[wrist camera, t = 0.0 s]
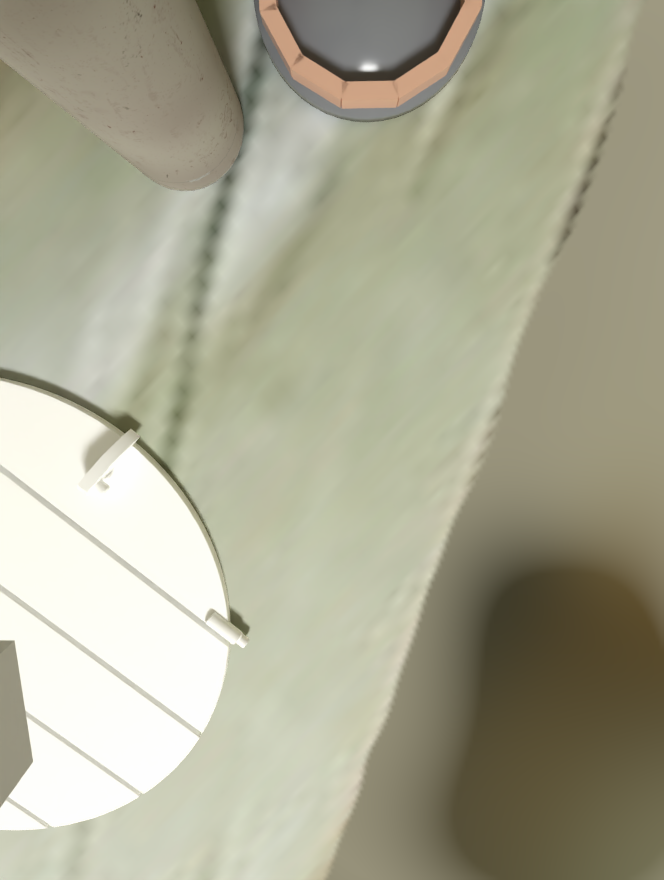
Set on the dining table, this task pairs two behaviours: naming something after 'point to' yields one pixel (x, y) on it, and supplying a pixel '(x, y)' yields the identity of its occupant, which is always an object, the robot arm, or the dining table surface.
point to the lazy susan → (101, 610)
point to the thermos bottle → (132, 80)
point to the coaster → (367, 51)
